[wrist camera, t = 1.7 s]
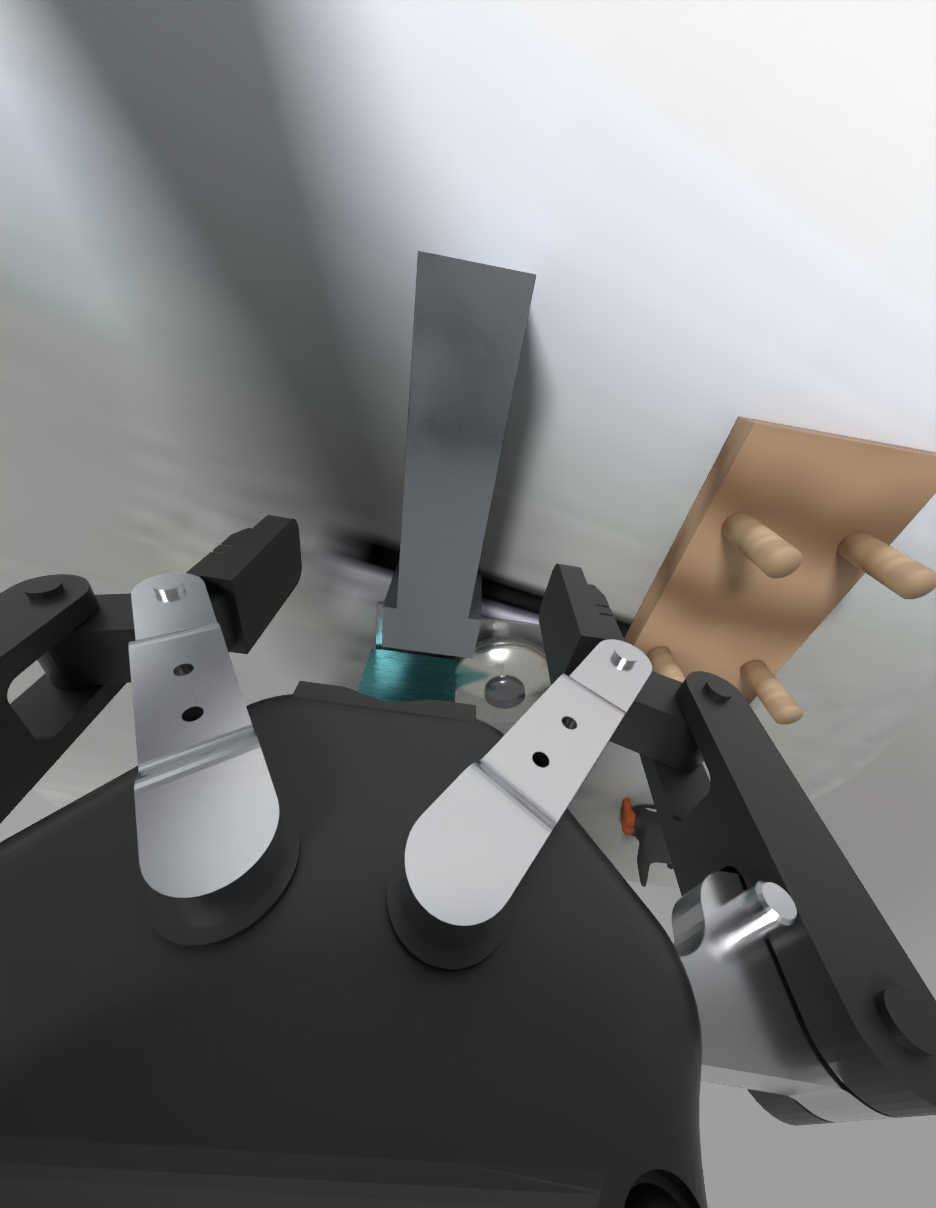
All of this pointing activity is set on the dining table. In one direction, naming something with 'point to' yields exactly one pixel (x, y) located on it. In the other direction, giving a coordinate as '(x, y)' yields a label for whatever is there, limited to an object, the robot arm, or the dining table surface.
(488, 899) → the robot arm
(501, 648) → the teal handled round piece
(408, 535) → the bar
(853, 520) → the peg rack
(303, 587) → the dining table surface
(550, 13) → the dining table surface
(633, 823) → the figurine
